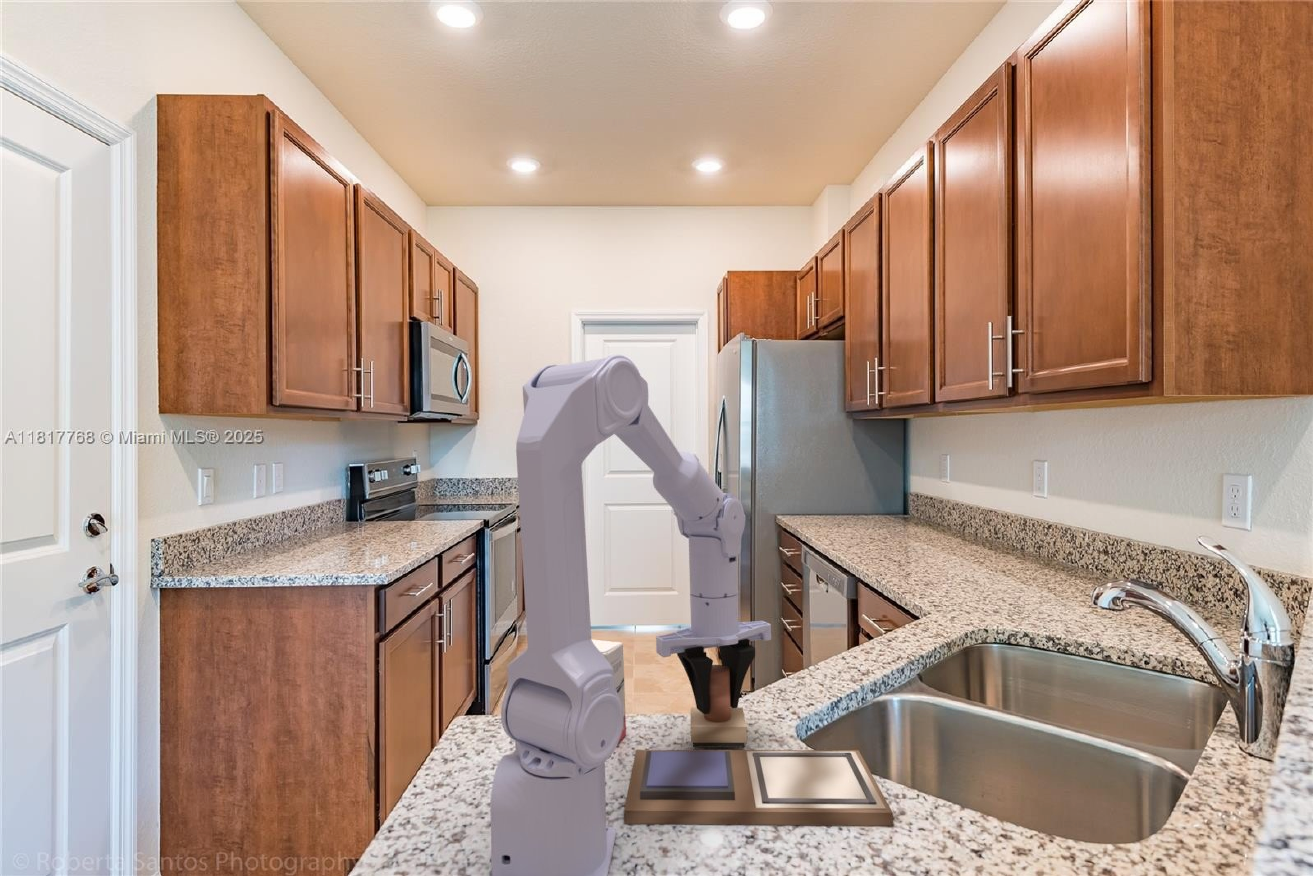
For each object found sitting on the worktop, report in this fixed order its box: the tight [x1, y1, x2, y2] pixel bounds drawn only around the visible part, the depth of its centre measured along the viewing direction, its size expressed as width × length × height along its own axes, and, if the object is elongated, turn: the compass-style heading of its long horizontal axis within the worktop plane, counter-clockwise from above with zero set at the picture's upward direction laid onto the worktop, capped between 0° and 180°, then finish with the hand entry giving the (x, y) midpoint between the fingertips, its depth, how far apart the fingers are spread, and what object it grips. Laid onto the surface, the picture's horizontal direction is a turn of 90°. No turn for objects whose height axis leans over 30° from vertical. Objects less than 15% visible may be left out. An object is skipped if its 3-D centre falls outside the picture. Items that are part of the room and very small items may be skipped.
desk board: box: [623, 749, 894, 827], centre depth 64 cm, size 25×12×2 cm, turn 87°
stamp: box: [689, 664, 748, 748], centre depth 73 cm, size 6×5×8 cm
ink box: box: [591, 638, 627, 744], centre depth 76 cm, size 8×5×12 cm, turn 66°
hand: (717, 708), depth 73 cm, fingers closed on stamp, 3 cm apart
